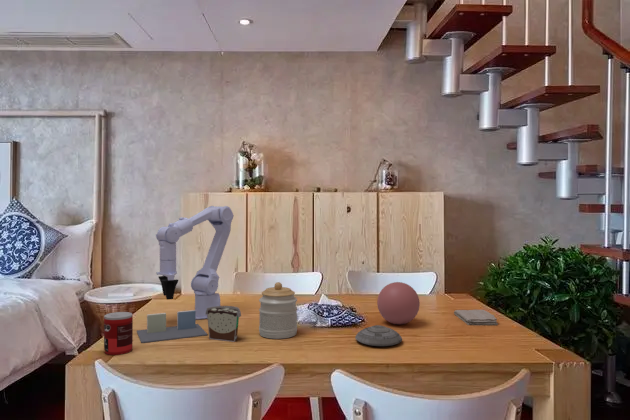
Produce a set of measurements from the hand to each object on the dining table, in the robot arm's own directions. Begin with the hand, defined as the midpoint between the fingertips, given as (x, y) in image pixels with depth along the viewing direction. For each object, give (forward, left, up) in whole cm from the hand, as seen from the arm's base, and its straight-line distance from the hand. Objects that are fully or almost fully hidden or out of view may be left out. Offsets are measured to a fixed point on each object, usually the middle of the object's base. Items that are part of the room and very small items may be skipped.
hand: (168, 297), depth 171 cm
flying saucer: (-58, +50, -11) cm, 77 cm away
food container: (-15, +25, -11) cm, 30 cm away
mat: (+1, +12, -10) cm, 15 cm away
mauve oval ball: (-78, +32, -10) cm, 85 cm away
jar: (-32, +28, -11) cm, 43 cm away
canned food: (+18, +25, -11) cm, 32 cm away
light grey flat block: (-5, +9, -10) cm, 14 cm away
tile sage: (+5, +9, -10) cm, 14 cm away
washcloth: (-108, +41, -11) cm, 116 cm away
